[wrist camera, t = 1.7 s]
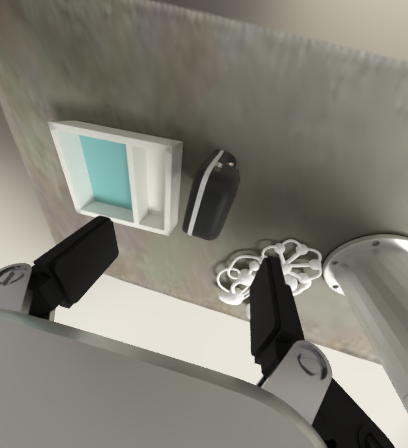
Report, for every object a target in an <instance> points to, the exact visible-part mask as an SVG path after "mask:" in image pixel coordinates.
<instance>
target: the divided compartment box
mask: <svg viewBox="0 0 408 448" xmlns="http://www.w3.org/2000/svg"><path fill="white" fill-rule="evenodd" d="M48 124H49V128H50V131H51V134H52V137H53V140H54V143H55V146H56V149H57V152H58V156H59V159H60V162H61V165H62V168H63V171H64V174H65V177H66V181H67V184H68V187H69V190H70V193H71V196H72V199H73V202H74V206H75V209H76V212H77V213H80V214H84V215H88V216H92V217H97V216H100V215H101V216H105V217H109V218H110V219H111V221H113V222H116V223H120V224H124V225H128V226H132V227H136V228H139V229H143V230H147V231H151V232H155V233H159V234H163V235H167V236H169V235H170V234H171V232H172V231H173V229H174V228H175V226H176V225H177V223H178V212H179V197H180V182H181V168H182V153H183V142H182V141H177V140H172V139H167V138H162V137H157V136H152V135H147V134H141V133H136V132H131V131H126V130H121V129H116V128H111V127H106V126H100V125H95V124H90V123H85V122H80V121H75V120H74V121H48Z"/></svg>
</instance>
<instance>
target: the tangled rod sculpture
mask: <svg viewBox="0 0 408 448" xmlns="http://www.w3.org/2000/svg"><path fill="white" fill-rule="evenodd" d="M288 242H294V243H296V244H297V247H296V253H295V254H294V255H293V256H291V257H290V258H289V259H288V260H286V261H285V259H284V256H283V252H284V251H285V246H284V245H285V244H286V243H288ZM270 248H274V251H275V252H276V253H278V254H279V256H280V259H281V266H282V270H283V275H284V279H285V283H286V284H288V285H290V287H291V289H292V293H293V295H297V294H299V293H301V292H302V291H303V290H305V289H307V288H308V287H310V285H311V279H315V278H318V277H319V276H320V275H321V274H322V269H321V260H322V255H321V253H320V252H319V251H317V250H315V249H311V248H308V247H307V246H306V245H304V244H300V243H299V242H298V241H296V240H293V239H289V240H286V241H284V242H283V243H282V244H281V243H277V244H276V245H272V246H267V247H266V248H264V249H263V250H262V253H261V256H260V257H256V256H251V255H240V256H238V257H236V258H235V259H234V260H233V261H232V263H231V264H230V266H229V268H225V269H223V270H221V271H220V272H219V273H218V275H217V283H218V285H219V287H220V288H222V289H223V290H225V291H223V292H220V293H219V294H218V297H219V298H220V299H221V300H222V301H223V302H225V303H228V304H233V305H238V304H240V303H241V302H242V301H243V300H244V299H245V298H247V297H248V296H250V293H249V292H250V289H249V290H248V291H247V292H245V293H244V294H243V292H244V291H245V290H246V289H247V288H248V287H249V285H251V284H252V282H253V280H254V277H255V275H256V274H253V272H252V271H257V270H258V269H259V267H260V266H259V263H260V264H261V263H262V261H263V259H264V257H265V258H267V256H265V255H264V252H265V251H266V250H267V249H270ZM308 251H312V252H315V253H317V254H318V256H319V259H318V260H317V259H312V260H310V261H309V263H300V264H290V263H291V262H292V261H293V260H294V259H296V258H297V257H298V256H300V255H304V254H306V253H307V252H308ZM240 258H253V259H257V260H258V261H259V263H258V262H256V261H252V262H251V263H250V265H249V267H250V269H242V270H241V271H240V270H238V269H237V268H233V267H232V266H233V265H234V263H235V262H236V261H237V260H238V259H240ZM292 267H310V268H311V269H313V270H318V269H319V273H318V274H317V275H315V276H313V277H308V275H307V274H305V273H299V274H296V273H294V272H292V271H291V269H292ZM230 270H235V271H237V272H238V277H235V276H231V275H230ZM224 271H227V274H228V276H229V277H230V278H232V279H238V280H237V281H235V282H234V283H233V284H232V285H231V289H230V290H227V289H226V288H224V287H223V286H222V285H221V284H220V281H219V277H220V274H221V273H222V272H224ZM296 278H297V279H298V281H299V282H301V283H305V284H304V285H303V286H301V287H299V288H298V289H297V290H295V289H296V288H297V285H298V282H297V279H296ZM240 283H241V284H243V285H247V286H246V287H245V288H244V289H243V290H242V291H241V289H240V288H238V287H236V288H235V286H236V285H238V284H240ZM294 290H295V291H294ZM247 293H249V294H248V295H246V294H247ZM244 295H246V296H245V297H244ZM246 315H247V317H248V318H249V319H250V303H249V304H248V305H247V307H246Z"/></svg>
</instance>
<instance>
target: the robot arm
mask: <svg viewBox="0 0 408 448" xmlns="http://www.w3.org/2000/svg"><path fill="white" fill-rule="evenodd" d="M118 253H119V251H118V246H117V241H116V236H115V231H114V225H113V221H111V219H110V218H109V217H105V216H101V215H100V216H97V217H96V218H94V219H93V220H91V221H90V222H89V223H87V224H86V225H84V226H83V227H82V228H80V229H79V230H77V231H76V232H75V233H73V234H72V235H70V236H69V237H67V238H66V239H65V240H63V241H62V242H60V243H59V244H58V245H56V246H55V247H53V248H52V249H50V250H49V251H48V252H46V253H45V254H43V255H42V256H41V257H39V258H38V259H37V260H35V261H34V264H35V265H34V266H32V267H31V266H30V265H29V264H26V263H18V264H12V265H9V266H6V267H4V268H2V269H0V448H395V447H394V445H393V444H392V443H391V441H390V440H389V439H388V438H387V437H386V435H385V434H384V433H383V432H382V431H381V430H380V429H379V427H377V425H376V424H375V423H374V422H373V421H372V420H371V419H370V418H369V417H368V416H367V414H365V412H364V411H363V410H362V409H361V408H360V407H359V406H358V405H357V404H356V403H355V402H354V400H353V399H352V398H351V397H350V396H349V395H348V394H347V393H346V392H345V391H344V390H343V389H342V387H341V386H340V385H339V384H338V383H337V382H336V381H335V380H334V379H333V378H332V370H331V366H330V364H329V361H328V360H327V358H326V356H325V355H324V353H323V352H322V351H321V350H320V349H319V348H318V347H316V346H315V345H314V344H312V343H310V342H308V341H305V339H304V335H303V331H302V327H301V324H300V320H299V316H298V312H297V308H296V305H295V301H294V297H293V293H292V289H291V287H290V285H288V284H286V283H285V279H284V275H283V270H282V266H281V262H280V259H279V258H276V257H272V256H268V257H267V258H265V257H264V259H263V261H262V263H261V265H260V267H259V269H258V271H257V273H256V275H255V277H254V280H253V282H252V284H251V286H250V292H249V293H250V331H251V354H252V355H253V356H255V363H257V364H260V365H261V368H262V374H263V376H262V377H261V379H260V380H259V381H258V383H257V384H256V385H253V384H251V383H248V382H246V381H243V380H240V379H238V378H235V377H232V376H229V375H225V374H223V373H220V372H216V371H213V370H210V369H208V368H204V367H201V366H198V365H195V364H191V363H188V362H185V361H182V360H178V359H175V358H172V357H169V356H166V355H162V354H159V353H155V352H153V351H149V350H146V349H143V348H139V347H136V346H133V345H130V344H126V343H123V342H120V341H116V340H113V339H110V338H106V337H103V336H100V335H97V334H93V333H90V332H86V331H83V330H80V329H76V328H73V327H70V326H66V325H63V324H59V323H56V322H54V315H55V308H56V307H57V306H58V305H60V306H62V307H65V308H70V307H71V306H72V305H73V304H74V303H76V302H78V301H79V300H80V298H81V297H82V296H83V295H84V294H85V293H86V292H87V291H88V289H89V288H90V287H91V286H92V285H93V284H94V283H95V281H96V280H97V279H98V278H99V277H100V276H101V275H102V274H103V272H104V271H105V270H106V269H107V268H108V267H109V266H110V265H111V263H112V262H113V261H114V260H115V259H116V258H117V256H118ZM322 275H323V277H324V280H325V282H326V283H327V285H328V286H329V287H330V288H331V289H332V290H334V291H336V292H337V293H340V294H342V295H345V297H346V298H347V300H348V302H349V304H350V306H351V308H352V310H353V312H354V313H355V315H356V317H357V319H358V321H359V323H360V325H361V326H362V328H363V330H364V332H365V334H366V336H367V338H368V340H369V341H370V343H371V345H372V347H373V349H374V351H375V353H376V354H377V356H378V358H379V360H380V362H381V364H382V366H383V367H384V369H385V371H386V373H387V375H388V376H389V379H390V381H391V382H392V384H393V386H394V388H395V390H396V392H397V393H398V396H399V397H400V399H401V401H402V403H403V405H404V407H405V409H406V410H407V413H408V238H407V237H404V236H399V235H391V234H380V235H371V236H365V237H361V238H358V239H354V240H352V241H350V242H347V243H345V244H343V245H341V246H340V247H338V248H336V249H335V250H334V251H333V252H332V253H330V255H329V256H328V257H327V258H326V260H325V262H324V263H323V267H322Z"/></svg>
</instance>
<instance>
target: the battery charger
mask: <svg viewBox="0 0 408 448" xmlns="http://www.w3.org/2000/svg"><path fill="white" fill-rule="evenodd" d="M235 167H236V159H235V157H233V156H232V155H231V154H229V153H226V152H224V151H223V150H221V151H220V150H216V151H215V152H214V153H213V155H212V156H211V157H209V158H208V159H207V160H206V161H205V163H204V164H203V165H202V166H201V167H200V169H199V170H198V171H197V173H196V176H195V178H194V181H193V184H192V188H191V191H190V196H189V200H188V204H187V208H186V213H185V217H184V221H183V226H182V230H183V231H184V232H185V233H188V235H190V236H192V235H193V236H196V237H199V238H202V239H205V240H214V239H216V238H217V237H218V236H219V234H220V232H221V230H222V228H223V225H224V223H225V220H226V218H227V215H228V213H229V210H230V208H231V205H232V203H233V200H234V198H235V195H236V192H237V189H238V185H239V181H240V176H239V171H238V170H237V169H236V168H235Z"/></svg>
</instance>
